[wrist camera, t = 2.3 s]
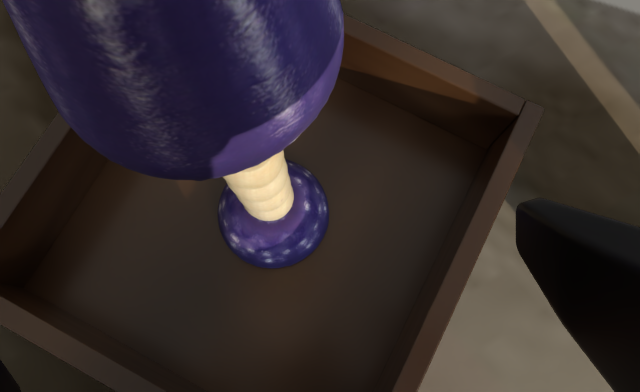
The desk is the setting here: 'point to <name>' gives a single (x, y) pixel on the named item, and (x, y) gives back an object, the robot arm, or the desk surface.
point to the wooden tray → (266, 283)
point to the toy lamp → (200, 99)
